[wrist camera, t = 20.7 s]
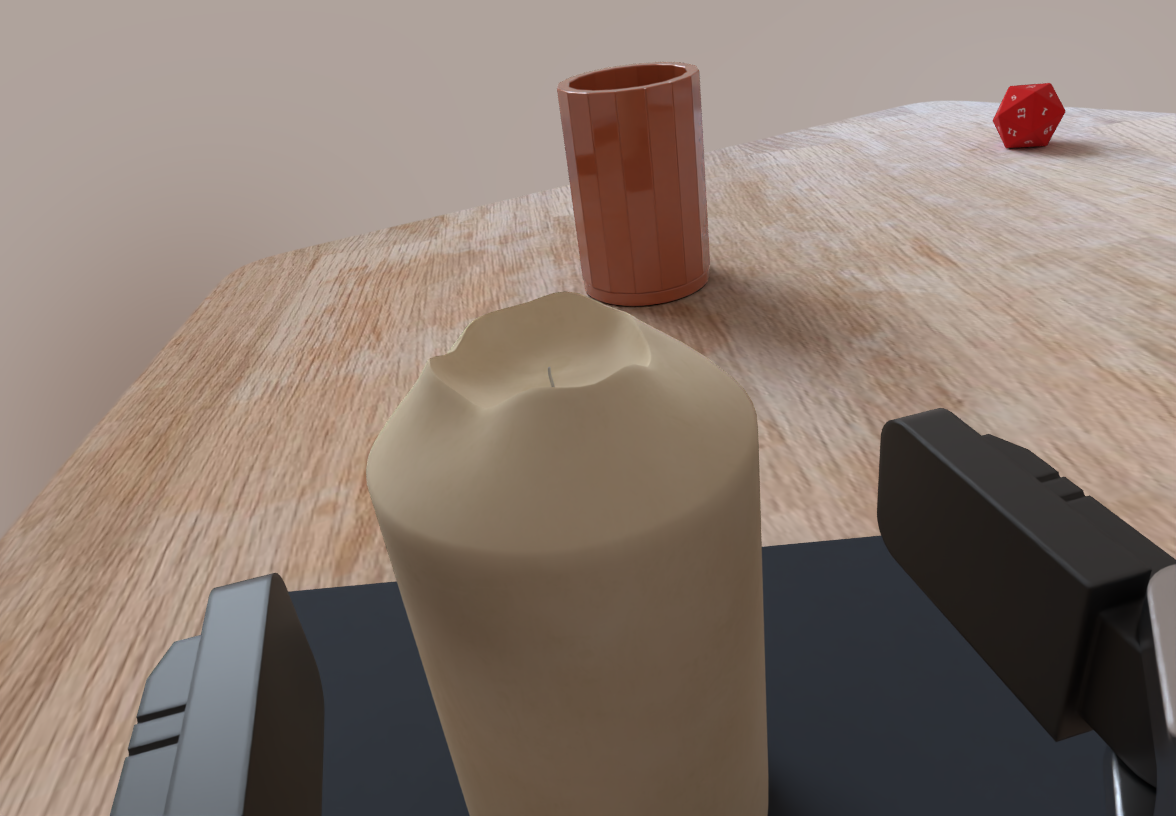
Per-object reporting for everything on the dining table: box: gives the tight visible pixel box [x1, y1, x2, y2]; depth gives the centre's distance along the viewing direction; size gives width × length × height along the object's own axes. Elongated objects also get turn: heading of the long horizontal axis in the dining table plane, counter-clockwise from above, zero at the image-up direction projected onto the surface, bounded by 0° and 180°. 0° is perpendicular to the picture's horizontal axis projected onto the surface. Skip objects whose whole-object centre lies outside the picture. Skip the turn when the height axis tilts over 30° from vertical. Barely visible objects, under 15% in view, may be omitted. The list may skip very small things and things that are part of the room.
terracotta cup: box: [557, 62, 710, 306], centre depth 38 cm, size 6×6×9 cm
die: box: [993, 83, 1065, 148], centre depth 50 cm, size 4×3×4 cm
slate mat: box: [288, 536, 1107, 816], centre depth 17 cm, size 20×14×1 cm
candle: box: [366, 292, 768, 816], centre depth 14 cm, size 6×6×10 cm
